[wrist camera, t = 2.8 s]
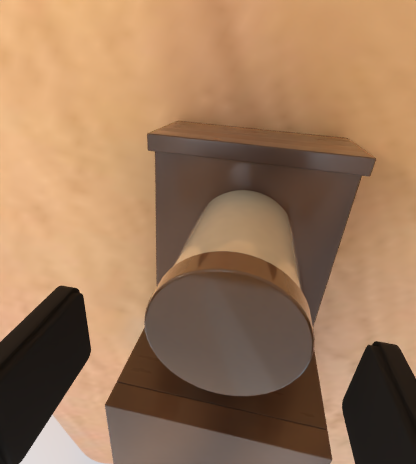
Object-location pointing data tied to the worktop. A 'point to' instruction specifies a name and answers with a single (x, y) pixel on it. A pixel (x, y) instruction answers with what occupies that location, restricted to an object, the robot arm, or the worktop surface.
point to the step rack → (312, 283)
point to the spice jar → (234, 301)
